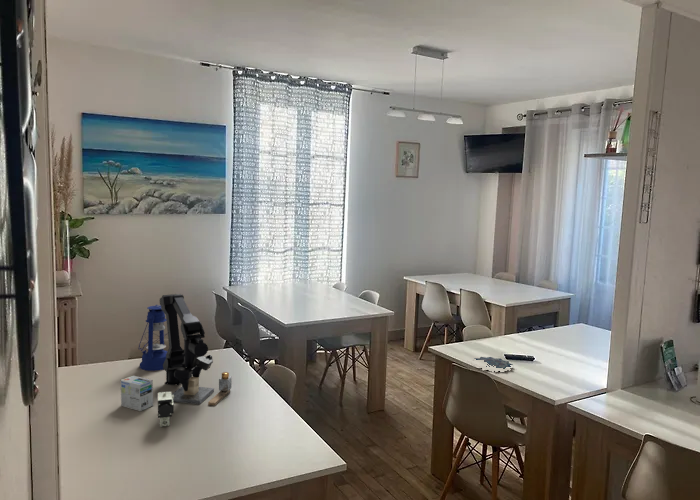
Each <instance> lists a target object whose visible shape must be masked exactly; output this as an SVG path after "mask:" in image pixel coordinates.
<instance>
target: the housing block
mask: <svg viewBox="0 0 700 500" xmlns="http://www.w3.org/2000/svg"><path fill="white" fill-rule="evenodd" d="M199 381H200V376H199V377H193V376H192V377H191V378H190V379H189V385H188V391H185V390H184V394H186V395H195V394H196V393H197V392H198V391H199V387H200V382H199Z"/></svg>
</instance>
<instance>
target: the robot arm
mask: <svg viewBox="0 0 700 500" xmlns="http://www.w3.org/2000/svg"><path fill="white" fill-rule="evenodd" d="M184 296H185V295H184V294H182V293H172V294H162V295H161V297H160V298H159V305H161V309H162V311H163V312H164V313H165V319H166V320H167V321H166V329H167V339H168V350H166V351H167V353H166V359H165V361H164V363H163V369H164V370H163V371H165V373H166V374H165V382H164V385H171V386H179V385H181V387H183V389H184V390H185V391H188V385H189V379H190V378H191V377H199V378H200V375H201V373H202V370H203V371H208V369H210V368H211V366H212V364H213V363H214V359H213V355H211V354H210V353H209V354H207V353H208V352H209V347H208V344H207V343H205V342H204V339H205V337H206V336H205V335H206V334H205V333H206V332H205V330H204V328H203V325H202V322H201V321H200V320H199V319H198V317H197V316H196V315H193V314H192V313H191V311H190V308H189V306H188V305H187V303H186V301H185V297H184ZM178 318H179V319H178ZM179 320H180V322H181V324H180V330H179ZM180 331H181V334H182V337H183V347H182V346H181V340H180V339H181V338H180ZM206 355H207V356H206Z"/></svg>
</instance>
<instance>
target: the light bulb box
mask: <svg viewBox="0 0 700 500" xmlns="http://www.w3.org/2000/svg"><path fill="white" fill-rule="evenodd" d="M153 385H154V382H153V379H151V378H150V379H149V378H146V377H141V376H138V375H137V376H136V375H132V376H128V377H126V378H122V379H120V406H121V407H124V408H127V409H131V410H135V411H139V412H141V411H143V410H144V411H145V410H146V409H148V408H150V407H152V406H154V390H153V389H154V388H153Z"/></svg>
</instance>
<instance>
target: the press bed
mask: <svg viewBox="0 0 700 500" xmlns="http://www.w3.org/2000/svg"><path fill="white" fill-rule="evenodd" d="M214 392H215V388H213V387H205V386H199V391H198V392H197V393H196V394H195V395H186V394H184V389H183V387H182V386H181V387H179V388H178V389H177V390H175V391H174V392H173V393H171V395H174V398H173V403H184V404H192V405H194V404H195V405H201V404H202V403H203V402H204V401H206V400H207V399H208V397H209V398H210V396H211V395H212V394H213V393H214ZM230 392H231V389H230V390H229V391H219V392H217V394H215V395H214V396H213V397H212V398H211V399H210V400H209V401H208V402H207V406H217V405H218V404H219V403H220V402H221V401H222V400H223V399H224V398H225V397H226V396H227V395H228V394H229V393H230Z"/></svg>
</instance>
